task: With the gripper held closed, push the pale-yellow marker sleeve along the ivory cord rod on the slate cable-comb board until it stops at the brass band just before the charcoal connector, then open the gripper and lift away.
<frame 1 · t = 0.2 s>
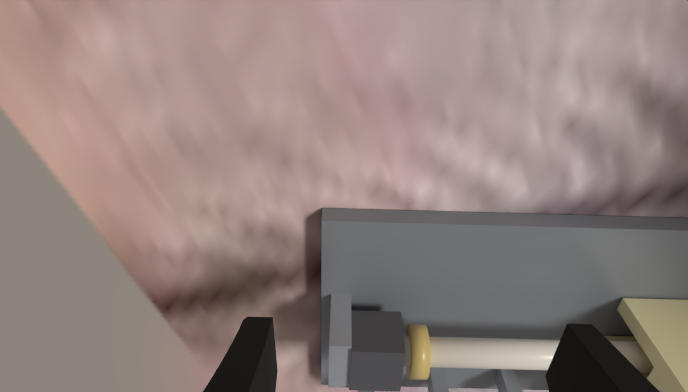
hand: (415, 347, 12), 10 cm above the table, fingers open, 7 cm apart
marker sleeve: (682, 373, 22), point 4 cm above the table, slide at 0.0 cm
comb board: (517, 304, 25), on the table
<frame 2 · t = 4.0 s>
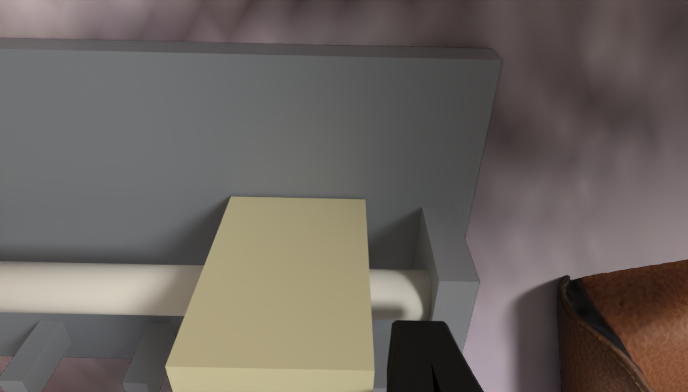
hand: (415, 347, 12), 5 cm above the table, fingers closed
marker sleeve: (290, 315, 12), point 4 cm above the table, slide at 1.2 cm, touching gripper
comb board: (147, 220, 16), on the table
sunglasses case: (641, 387, 22), on the table
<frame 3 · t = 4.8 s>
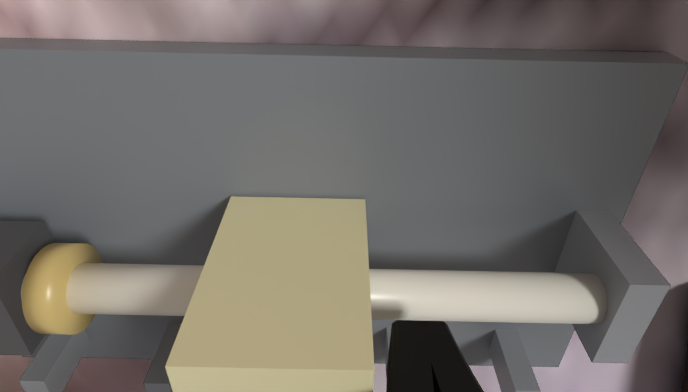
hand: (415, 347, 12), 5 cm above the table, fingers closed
marker sleeve: (290, 315, 12), point 4 cm above the table, slide at 5.9 cm, touching gripper
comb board: (286, 223, 16), on the table
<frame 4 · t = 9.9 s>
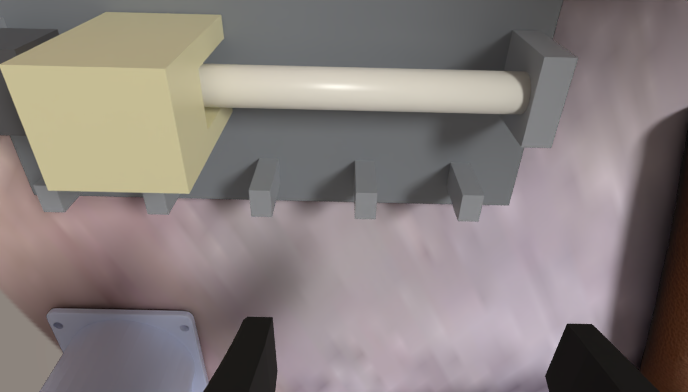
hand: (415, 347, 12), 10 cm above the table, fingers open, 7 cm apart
marker sleeve: (143, 93, 15), point 4 cm above the table, slide at 9.8 cm
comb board: (265, 57, 18), on the table
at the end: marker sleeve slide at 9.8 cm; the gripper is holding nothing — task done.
